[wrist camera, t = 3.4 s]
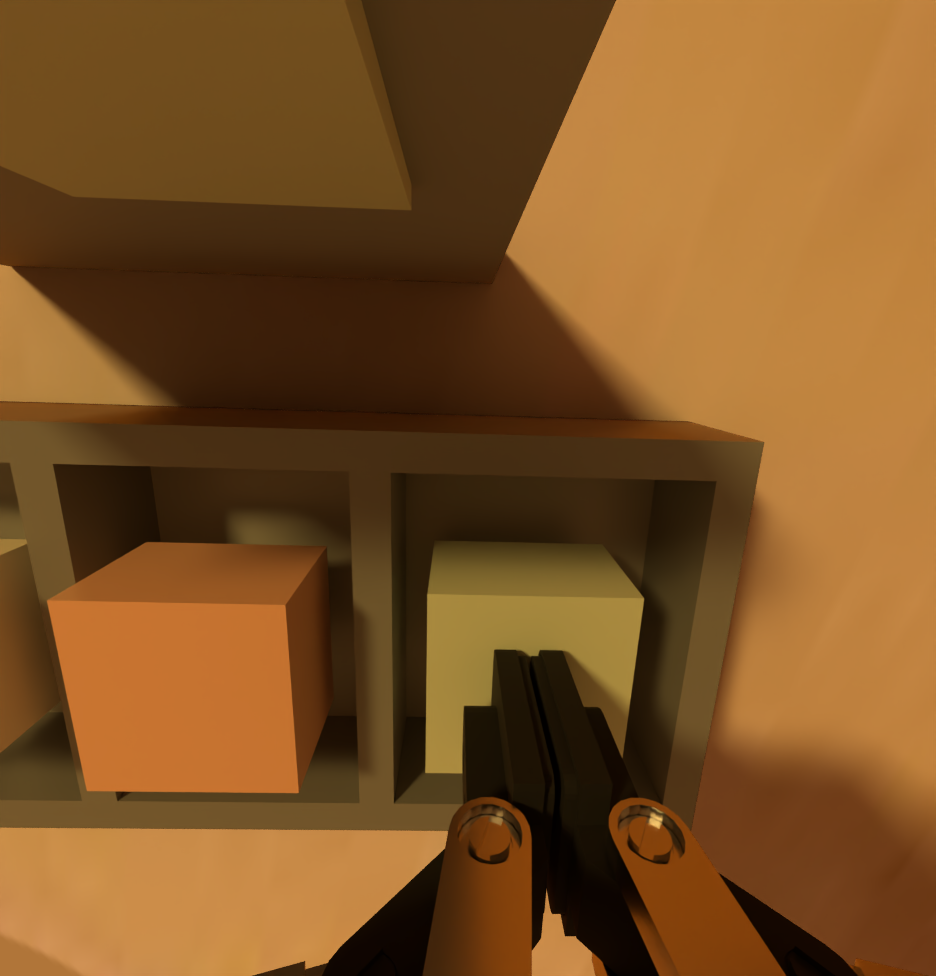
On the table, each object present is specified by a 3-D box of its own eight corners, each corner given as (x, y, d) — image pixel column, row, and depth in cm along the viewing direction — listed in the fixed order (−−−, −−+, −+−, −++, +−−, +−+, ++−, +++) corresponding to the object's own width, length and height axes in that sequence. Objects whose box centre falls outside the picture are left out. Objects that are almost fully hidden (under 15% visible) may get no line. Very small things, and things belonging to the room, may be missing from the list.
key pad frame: (-182, 395, 15) (-406, 408, 11) (688, 421, 16) (764, 442, 12) (-81, 725, 18) (-229, 825, 14) (642, 734, 19) (690, 832, 15)
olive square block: (434, 540, 14) (427, 594, 11) (602, 544, 15) (644, 598, 11) (432, 686, 16) (425, 772, 12) (586, 688, 16) (619, 774, 13)
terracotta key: (146, 542, 14) (46, 600, 10) (326, 545, 14) (285, 605, 10) (168, 695, 15) (87, 790, 12) (333, 698, 15) (298, 793, 12)
